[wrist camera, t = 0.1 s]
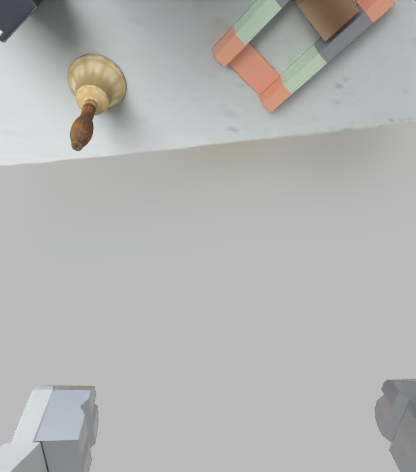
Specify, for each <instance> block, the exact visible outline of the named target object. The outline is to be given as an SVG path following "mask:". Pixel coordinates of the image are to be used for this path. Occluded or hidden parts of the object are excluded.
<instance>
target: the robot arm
mask: <svg viewBox="0 0 416 472" xmlns="http://www.w3.org/2000/svg"><path fill="white" fill-rule="evenodd" d="M382 391H383V393H384V395H383V396H382V397H381V398H380V399H378V400H377V403H376V406H375V418H376V422H377V425H378V428H379V430H380V432H381V434H382V435H383V436H384V437H385V438H386V439H388V440H389V441H390V442H391V445H390V452H391V454H392V456H393V458H394V460H395V462H396V464H397V466H398V468H399V470H400V472H416V379H402V380H387V381H385V382H384V384H383V387H382ZM95 397H96V391H95V387H94V386H36V387H35V388H34V390H33V391H32V393H31V395H30V398H29V400H28V403H27V405H26V407H25V410H24V412H23V415H22V417H21V420H20V422H19V424H18V427H17V429H16V432H15V434H14V437H13V439H12V442H11V443H5V444H3V445H2V446H1V447H0V472H89V470H90V466H91V461H92V458H91V451H90V448H91V447H92V446H93V445H94V444H95V441H96V436H97V429H98V406H97V405H95V404H94V402H95Z"/></svg>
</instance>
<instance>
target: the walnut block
mask: <svg viewBox="0 0 416 472" xmlns="http://www.w3.org/2000/svg"><path fill="white" fill-rule="evenodd" d="M294 1H295V3H296V5H297V6H298V8H299V9H300V10H301V11H302V13H303V14H304V15H305V17H306V18H307V19H308V20H309V22H310V23H311V24H312V26H313V27H314V28H315V29H316V31H317V32H318V33H319V34H320V36H321V37H322V38H323V40H324V41H325V42H326V41H327V40H328V39H329V38H330V37H331V36H332V35H333V34H335V33H336V32H337V31H338V30H339V29H340V28H341V27H342V26H343V25H344V24H346V23H347V22H348V21H349V20H350V19H351V18H352V17H353V16H354V15H356V14H357V13H358V12H359V9H358V8H357V6H356V5H355V3H354V2H353V1H352V0H294Z"/></svg>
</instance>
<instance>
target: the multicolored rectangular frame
mask: <svg viewBox="0 0 416 472" xmlns="http://www.w3.org/2000/svg"><path fill="white" fill-rule="evenodd" d="M288 1H289V0H257V1H256V2H255V3H254V4H253V5H252V6H251V7H250V8H249V10H248V11H247V12H246V13H245V14H244V15H243V16H242V17H241V18H240V19H239V20H238V22H237V23H236V24H235V25H234V26H233V27H232V28H231V29H230V30H229V31H228V32H227V33H226V35H225V36H224V37H223V38H222V39H221V40H220V41H219V42H218V43H217V44H216V45H215V47H214V48H213V55H214V58H215V59H216V60H217V61H218V62H219V63H220V64H221V65H222V66H223V67H225V66H226V65H227V64H228V65H229V66H230V67H231V68H232V69H233V70H234V71H235V72H236V73H237V74H238V75H239V76H240V77H241V78H242V79H243V80H244V81H245V82H246V83H247V84H248V85H249V86H251V87H252V88H253V89H254V90H255V91H256V92H257V93H258V94H259V95H260V99H261V102H262V105H263V106H264V107H265V108H266V109H267V110H268V111H270V112H272V111H273V110H274V109H275V108H277V107H278V106H279V105H280V104H281V103H282V102H283V101H285V100H286V99H287V98H288V97H289V96H290V95H292V94H293V93H294V92H295V91H296V90H297V89H298V88H300V87H301V86H302V85H303V84H304V83H305V82H306V81H308V80H309V79H310V78H311V77H312V76H313V75H314V74H316V73H317V72H318V71H319V70H320V69H321V68H322V67H324V66H325V65H326V64H327V63H328V62H329V61H330V60H332V59H333V58H334V57H335V56H336V55H337V54H338V53H340V52H341V51H342V50H343V49H344V48H345V47H346V46H348V45H349V44H350V43H351V42H352V41H353V40H355V39H356V38H357V37H358V36H359V35H360V34H361V33H363V32H364V31H365V30H366V29H367V28H368V27H369V26H371V25H372V24H373V23H374V22H375V21H376V20H377V19H379V18H380V17H381V16H382V15H383V14H384V13H385V12H387V11H388V10H389V9H390V8H391V7H392V6H393V5H395V3H394V2H393V0H356V2H357V3H358V4H357V5H356V6H357V8H358V9H359V12H358V13H357V14H356V15H354V16H353V17H352V18H351V19H350V20H349V21H348V22H347V23H346V24H344V25H343V26H342V27H341V28H340V29H339V30H338V31H337V32H336V33H335V34H333V35H332V36H331V37H330V38H329V39H328V40H327V41H326V42H325V41H324V40H323V38H322V37H321V38H320V39H319V40H318V41H317V42H316V43H315V44H314V45H313V46H311V47H310V48H309V49H308V50H307V51H306V52H305V53H304V54H303V55H302V56H301V57H300V58H298V59H297V60H296V61H295V62H294V63H293V64H292V65H291V66H290V67H289V68H288V69H287V70H285V71H284V72H283V73H282V74H281V75H279V74H278V73H277V72H276V71H275V70H274V69H273V68H272V67H271V66H270V64H269V63H268V62H267V61H266V60H265V59H264V58H263V57H262V56H261V55H260V54H259V53H258V52H257V51H256V50H255V48H254V47H253V46H252V45H251V44H250V43H249V42H250V41H251V40H252V39H253V38H254V36H255V35H256V34H257V33H258V32H259V31H260V30H261V29H262V28H263V27H264V26H265V25H266V24H267V23H268V22H269V21H270V20H271V19H272V18H273V17H274V16H275V15H276V14H277V13H278V12H279V11H280V10H281V9H282V8H283V7H284V6H285V5H286V4H287V2H288Z"/></svg>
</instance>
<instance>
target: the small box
mask: <svg viewBox="0 0 416 472" xmlns="http://www.w3.org/2000/svg"><path fill="white" fill-rule="evenodd" d="M41 2H42V0H0V41H1V42H6V40H7V39H8V38H9V37H10V36H11V35H12V34H13V33H14V32H15V31H16V30H17V28H18V27H19V26H20V25H21V24H22V23H23V22H24V21H25V20H26V19H27V18H28V17H29V16H30V15H31V14H32V12H33V11H34V10H35V9H36V8H37V6H38V5H39V4H40V3H41Z"/></svg>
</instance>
